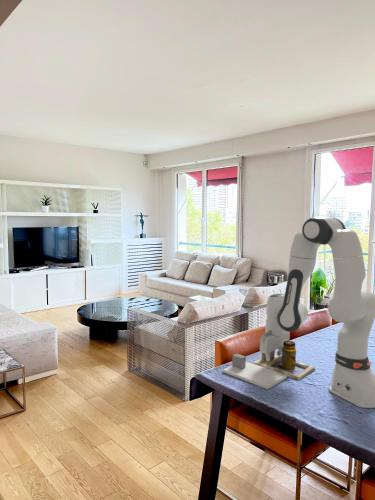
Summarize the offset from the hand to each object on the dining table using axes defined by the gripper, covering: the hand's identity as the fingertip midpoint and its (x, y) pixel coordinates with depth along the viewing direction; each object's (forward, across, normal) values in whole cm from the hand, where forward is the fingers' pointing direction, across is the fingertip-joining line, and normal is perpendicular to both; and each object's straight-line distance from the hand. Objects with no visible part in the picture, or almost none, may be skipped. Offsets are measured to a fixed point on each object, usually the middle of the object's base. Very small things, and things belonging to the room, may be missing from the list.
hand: (274, 357), depth 176 cm
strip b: (+3, -17, -1) cm, 17 cm away
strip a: (+3, 0, -5) cm, 6 cm away
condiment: (+3, 0, -6) cm, 7 cm away
